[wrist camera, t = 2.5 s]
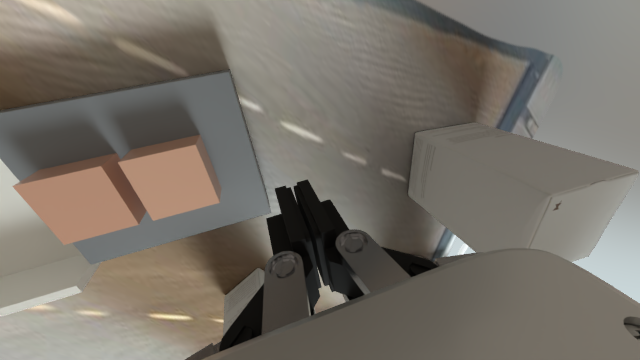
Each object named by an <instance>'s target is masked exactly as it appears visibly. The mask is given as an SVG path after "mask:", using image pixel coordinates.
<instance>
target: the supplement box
mask: <svg viewBox="0 0 640 360" xmlns="http://www.w3.org/2000/svg"><path fill="white" fill-rule="evenodd" d="M638 175H639V172H638V171H637V170H634V169H631V168H628V167H625V166H622V165H619V164H615V163H612V162H608V161H605V160H601V159H598V158H595V157H591V156H588V155H585V154H581V153H578V152H574V151H571V150H567V149H564V148H560V147H557V146H554V145H551V144H547V143H544V142H540V141H537V140H534V139H530V138H527V137H523V136H520V135H517V134H513V133H510V132H506V131H503V130H500V129H496V128H493V127H490V126H486V125H483V124H480V123H476V122H474V123H468V124H462V125H456V126H450V127H444V128H438V129H432V130H426V131H420V132H416V133H415V139H414V147H413V156H412V164H411V172H410V180H409V189H408V196H409V197H410V198H412V199H413V200H414V201H415V202H416V203H418V204H419V205H420V206H421V207H422V208H424V209H425V210H426V211H427V212H428V213H430V214H431V215H432V216H433V217H434V218H436V219H437V220H438V221H439V222H440V223H442V224H443V225H444V226H445V227H446V228H448V229H449V230H450V231H451V232H452V233H454V234H455V235H456V236H457V237H458V238H460V239H461V240H462V241H463V242H464V243H466V244H467V245H468V246H469V247H470V248H472V249H473V250H474V251H475V252H476V253H478V252H487V251H492V250H499V249H507V248H529V249H538V250H543V251H547V252H550V253H553V254H555V255H558V256H560V257H562V258H564V259H566V260H568V261H570V262H573V261H576V260H579V259H582V258H585V257H588V256H589V255H590V253H591V252H592V250H593V249H594V248H595V246H596V244H597V243H598V241H599V239H600V238H601V236H602V234H603V232H604V230H605V229H606V227H607V225H608V224H609V222H610V220H611V219H612V217H613V215H614V214H615V212H616V210H617V209H618V208H619V206H620V204H621V203H622V201H623V200H624V198H625V197H626V195H627V193H628V192H629V190H630V189H631V187H632V185H633V184H634V182H635V180H636V178H637V177H638Z"/></svg>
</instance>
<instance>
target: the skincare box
mask: <svg viewBox="0 0 640 360" xmlns="http://www.w3.org/2000/svg"><path fill="white" fill-rule="evenodd" d="M264 275H265V271H263V270H262V269H260V268H257V269H256V270H255V271H253V272H252V273H251V274H250V275H249V276H248V277H247V278H245V279H244V280H243V281H242V282H241V283H240V284H238V285H237V286H236V287H235V288H234V289H233V290H231V291H230V292H229V293H228V294H227V295H226V296H225V299H224V329H223V336H224V335H225V333H226V332H227V330H228V329H229V328H230V326H231V325H232V324H233V322H234V321H235V320H236V319H237V317H238V316H239V315H240V313H241V312H242V311H243V309H244V308H245V307H246V306H247V304H248V303H249V302H250V300H251V299H252V298H253V296H254V295H255V294H256V293H257V291H258V290H259V289H260V287H261V286H262V285H263V283H264Z"/></svg>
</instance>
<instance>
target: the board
mask: <svg viewBox="0 0 640 360" xmlns="http://www.w3.org/2000/svg"><path fill="white" fill-rule="evenodd" d="M196 135H200V136H201V138H202V141H203V143H204V146H205V148H206V151H207V153H208V156H209V158H210V161H211V163H212V166H213V168H214V171H215V173H216V176H217V178H218V181H219V183H220V186H221V197H220V203H217V204H213V205H210V206H206V207H202V208H199V209H195V210H191V211H188V212H184V213H180V214H176V215H173V216H169V217H165V218H162V219H158V220H154V221H153V220H152V218H151V217H150V215H149V213H148V212H147V211H146V213H145V215H144V217H143V218H142V220H141V222H140V224H139V225H136V226H132V227H129V228H125V229H121V230H117V231H114V232H110V233H106V234H103V235H99V236H95V237H92V238H88V239H84V240H81V241H77V242H73V244H74V246H75V247H76V248H77V249H78V250H79V251H80V253H81V254H82V255H83V256H84V257H85V258H86V260H87V261H88V262H89V263H90V264H91V265H92V264H96V263H99V262H102V261H106V260H109V259H113V258H116V257H120V256H123V255H127V254H130V253H134V252H137V251H141V250H144V249H147V248H151V247H154V246H158V245H161V244H165V243H168V242H172V241H175V240H179V239H182V238H186V237H189V236H192V235H196V234H199V233H203V232H206V231H210V230H213V229H217V228H220V227H224V226H227V225H231V224H234V223H238V222H241V221H244V220H248V219H251V218H255V217H258V216H262V215H265V214H269V213H271V210H270V205H269V200H268V196H267V193H266V189H265V186H264V183H263V179H262V176H261V173H260V169H259V166H258V162H257V159H256V156H255V152H254V149H253V146H252V142H251V139H250V136H249V132H248V129H247V125H246V122H245V119H244V115H243V112H242V109H241V105H240V102H239V98H238V95H237V92H236V88H235V85H234V82H233V78H232V75H231V72H230V69H229V70H223V71H218V72H212V73H207V74H201V75H195V76H190V77H184V78H179V79H173V80H167V81H162V82H156V83H150V84H145V85H139V86H134V87H128V88H122V89H117V90H111V91H106V92H100V93H94V94H89V95H83V96H78V97H72V98H66V99H61V100H55V101H50V102H44V103H38V104H33V105H27V106H22V107H16V108H10V109H5V110H1V111H0V159H1V160H2V161H3V163H4V164H5V165H6V166H7V167H8V168H9V170H10V171H11V172H12V173H13V174H14V175H15V177H16V178H17V179H18V180H19V181H22V180H23V179H25V178H27V177H28V176H30V175H32V174H33V173H35V172H37V171H38V170H41V169H46V168H50V167H55V166H59V165H64V164H69V163H73V162H78V161H82V160H87V159H91V158H96V157H100V156H105V155H109V154H114V153H117V154H118V156H119V158H120V159H122V158H123V157H124V156H125V155H126V154H127V153H128V152H129V151H130V150H132V149H137V148H141V147H146V146H150V145H155V144H159V143H164V142H168V141H173V140H178V139H182V138H187V137H191V136H196Z"/></svg>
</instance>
